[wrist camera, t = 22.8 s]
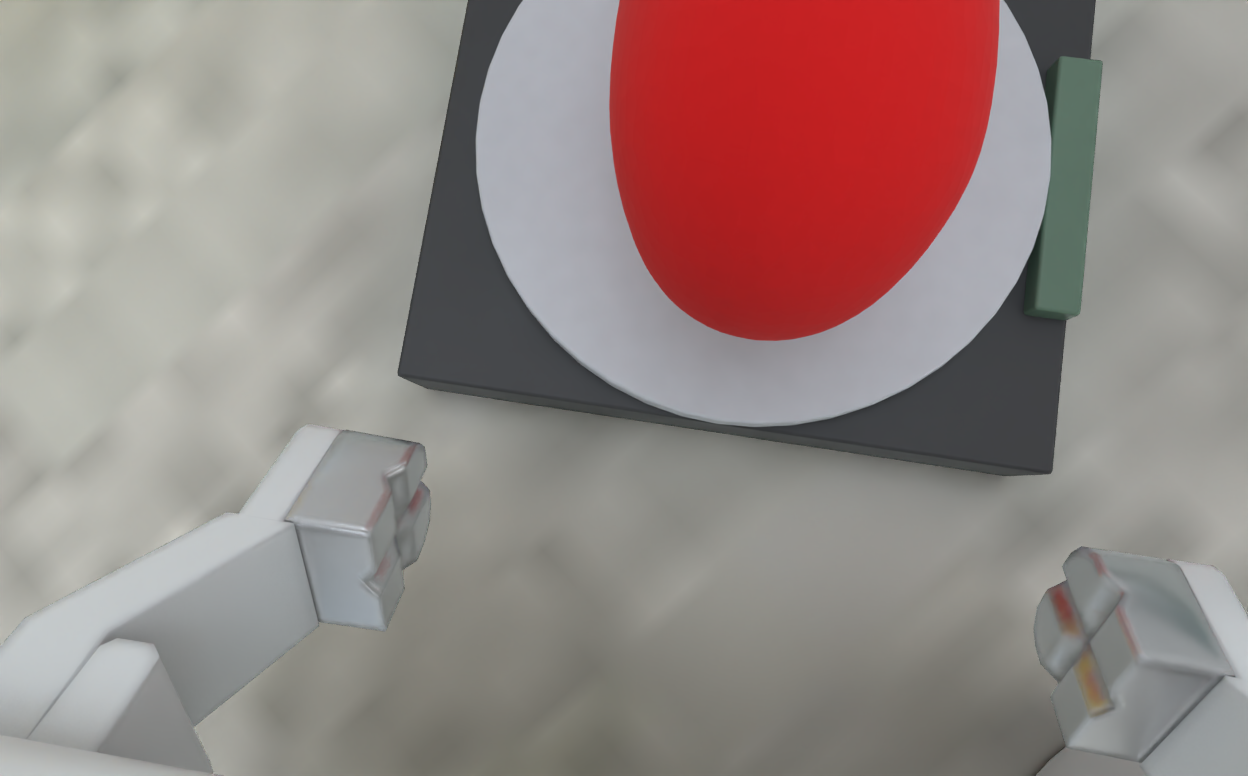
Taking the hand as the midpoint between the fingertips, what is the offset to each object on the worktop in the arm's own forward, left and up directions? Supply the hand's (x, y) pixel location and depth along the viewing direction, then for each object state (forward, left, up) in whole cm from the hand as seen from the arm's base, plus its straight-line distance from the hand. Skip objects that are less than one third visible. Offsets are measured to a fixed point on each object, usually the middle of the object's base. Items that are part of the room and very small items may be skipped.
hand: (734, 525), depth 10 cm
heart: (0, -8, -7) cm, 11 cm away
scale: (0, -8, -10) cm, 13 cm away
